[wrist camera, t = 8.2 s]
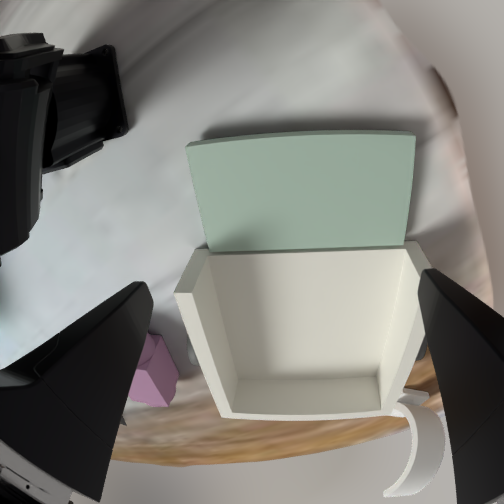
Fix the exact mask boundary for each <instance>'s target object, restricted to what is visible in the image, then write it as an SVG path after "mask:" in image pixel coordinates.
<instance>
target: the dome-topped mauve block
mask: <svg viewBox="0 0 504 504" xmlns="http://www.w3.org/2000/svg"><path fill="white" fill-rule="evenodd" d="M178 377H179V372H178V370H177V368H176V366H175V364H174V362H173V360H172V358H171V355H170V353H169V351H168V349H167V347H166V345H165V342H164V340H163V338H162V336H161V335H150V334H149V333H147V336H146V340H145V344H144V347H143V350H142V353H141V356H140V359H139V362H138V366H137V369H136V372H135V375H134V378H133V381H132V384H131V388H130V391H129V394H128V395H129V397H130V398H131V399H132V401H137V402H143V403H146V404H148V405H150V406H153V407H161V406H166V407H169V404H170V402H171V401H172V399H173V398H174V396H175V392H176V383H177V380H178Z"/></svg>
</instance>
